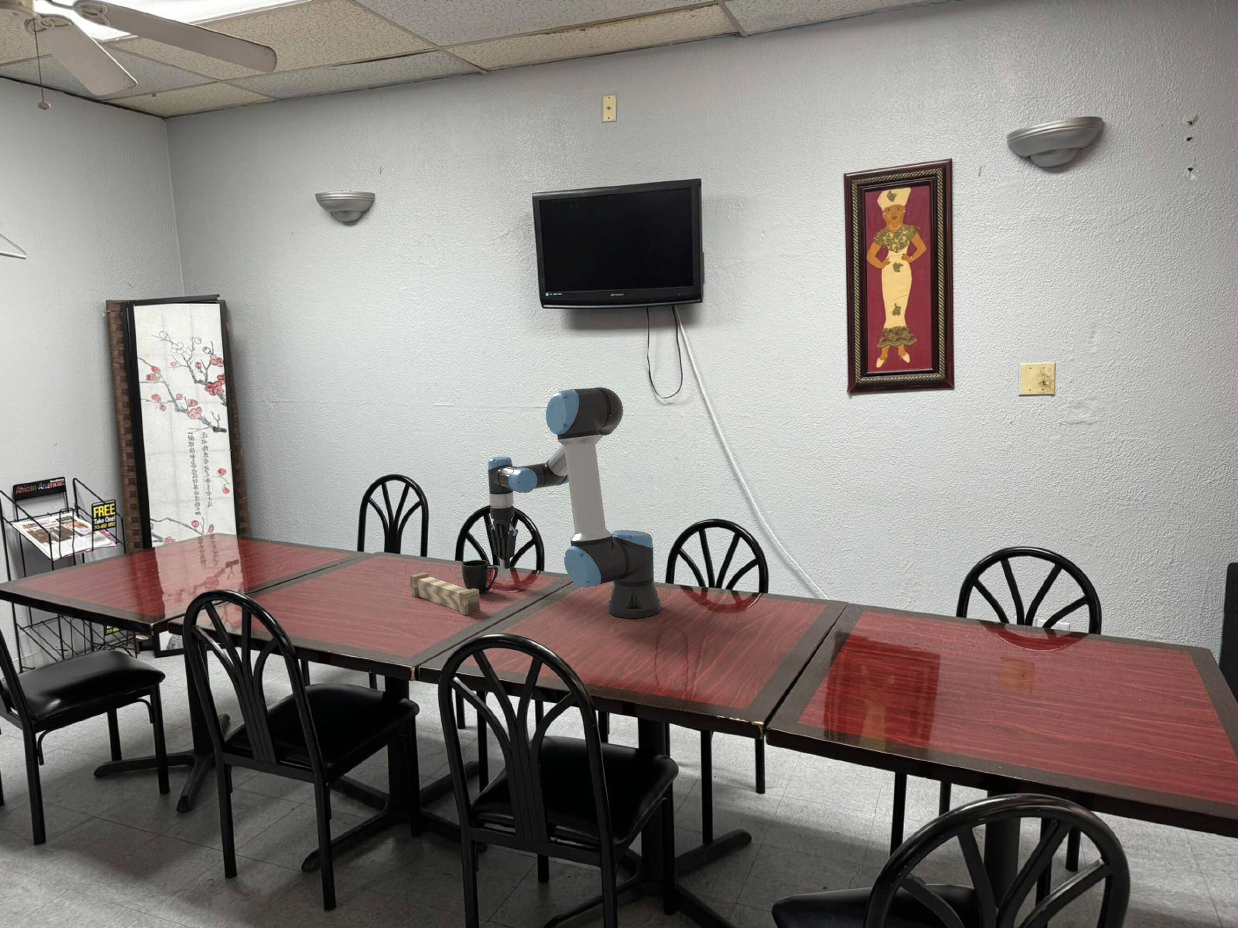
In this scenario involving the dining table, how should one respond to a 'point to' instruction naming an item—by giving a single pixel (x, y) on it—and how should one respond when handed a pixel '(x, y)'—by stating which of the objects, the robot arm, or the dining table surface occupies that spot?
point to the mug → (477, 575)
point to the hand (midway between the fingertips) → (505, 577)
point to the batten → (445, 593)
